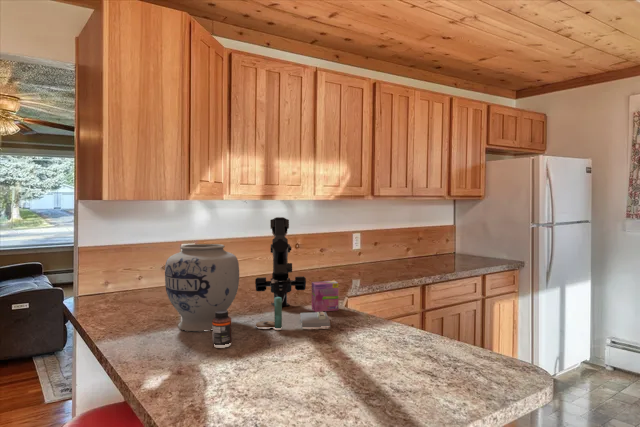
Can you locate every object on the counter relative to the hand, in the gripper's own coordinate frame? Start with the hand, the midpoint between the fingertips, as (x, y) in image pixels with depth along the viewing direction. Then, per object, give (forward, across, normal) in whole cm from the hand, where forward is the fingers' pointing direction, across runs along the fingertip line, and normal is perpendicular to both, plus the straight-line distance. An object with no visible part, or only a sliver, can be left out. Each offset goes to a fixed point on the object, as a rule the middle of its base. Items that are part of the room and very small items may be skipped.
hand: (281, 303), depth 157 cm
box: (-10, +19, +23) cm, 31 cm away
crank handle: (+6, -5, +6) cm, 10 cm away
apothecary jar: (+2, -29, +11) cm, 31 cm away
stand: (+4, +12, +9) cm, 16 cm away
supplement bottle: (+19, -19, -6) cm, 27 cm away
